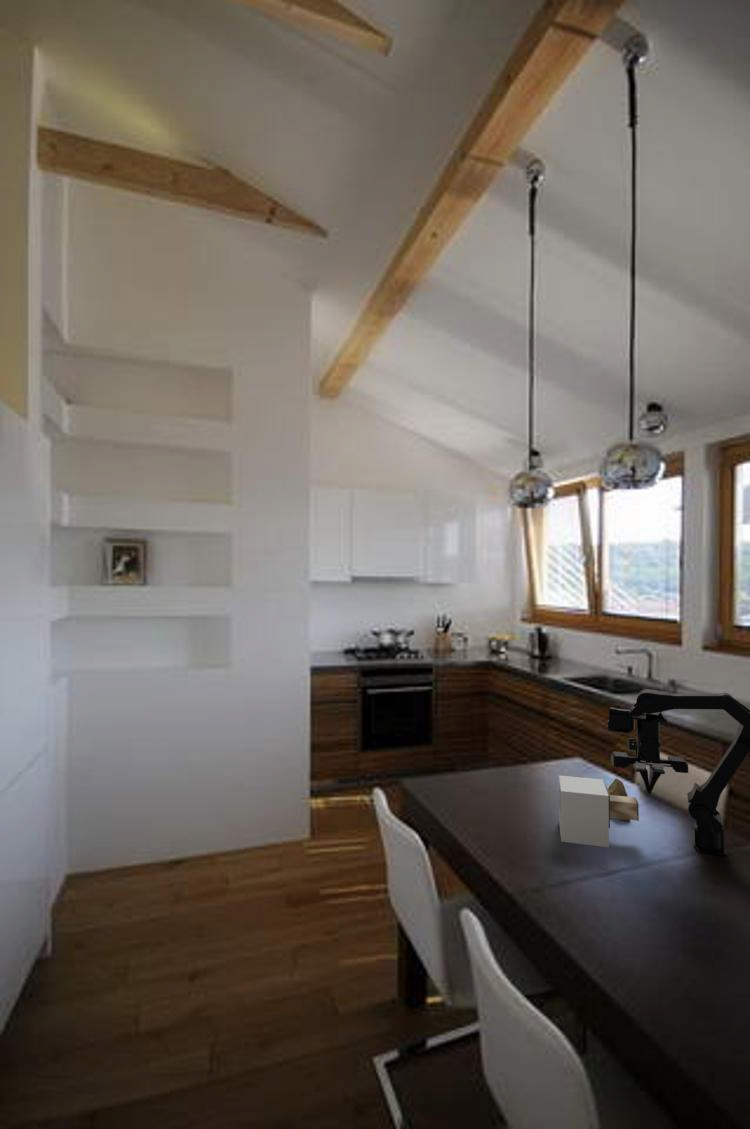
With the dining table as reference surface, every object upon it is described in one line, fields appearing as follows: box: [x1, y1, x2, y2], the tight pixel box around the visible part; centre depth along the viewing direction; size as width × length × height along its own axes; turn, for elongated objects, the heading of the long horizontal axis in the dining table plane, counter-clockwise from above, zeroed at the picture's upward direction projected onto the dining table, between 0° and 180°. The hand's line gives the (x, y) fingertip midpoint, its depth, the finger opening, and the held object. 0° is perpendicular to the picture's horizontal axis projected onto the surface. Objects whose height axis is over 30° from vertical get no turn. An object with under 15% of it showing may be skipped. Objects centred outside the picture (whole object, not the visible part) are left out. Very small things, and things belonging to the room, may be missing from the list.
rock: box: [607, 778, 631, 822], centre depth 172 cm, size 11×9×10 cm
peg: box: [610, 795, 640, 822], centre depth 157 cm, size 12×5×5 cm, turn 75°
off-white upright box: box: [558, 775, 611, 848], centre depth 159 cm, size 13×13×14 cm
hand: (648, 793), depth 158 cm, fingers closed
